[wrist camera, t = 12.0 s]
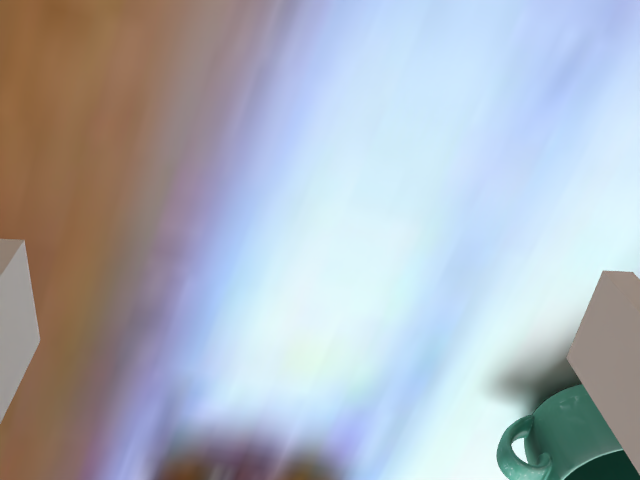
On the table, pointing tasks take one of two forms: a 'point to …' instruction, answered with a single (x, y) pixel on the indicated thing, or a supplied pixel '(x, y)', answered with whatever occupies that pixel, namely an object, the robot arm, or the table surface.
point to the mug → (565, 443)
